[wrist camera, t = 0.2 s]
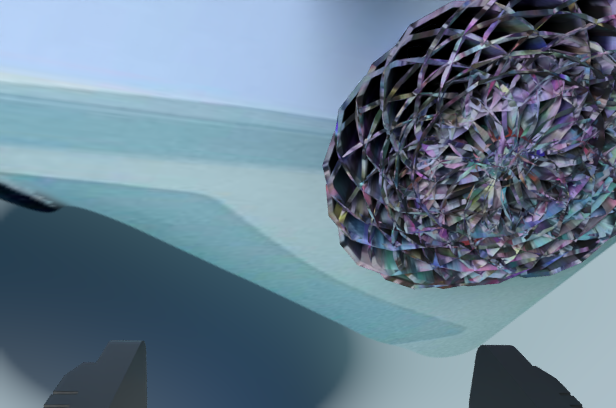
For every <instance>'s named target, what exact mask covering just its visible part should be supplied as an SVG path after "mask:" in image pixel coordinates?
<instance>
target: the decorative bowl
mask: <svg viewBox="0 0 616 408" xmlns="http://www.w3.org/2000/svg"><path fill="white" fill-rule="evenodd" d="M430 24H434V25H438V26H441V28H438V29H434V30H429V31H425V32H421V33H416V34H413V33H415V32H417V31H419V30H421V29H423V28H425V27H427V26H428V25H430ZM416 46H419V47H421V48H423V49H424V51H423V53H422V54H421V55H420V56H419V57H417V58H409V59H407V54H408V48H409V47H416ZM322 166H323V170H324V174H325V178H326V182H327V184H326V192H327V203H328V214H329V217H330V218H331V219H332V220H333V221H334V223H335V224H336V225H337V226H338V231H339V240H340V245H341V246H342V247H343V248H344V249H345V251H346V252H347V253H348V254H349V255H350V257H351V258H352V259H353V260H354V261H355V262H356V264H357V265H359V266H361V267H364V268H367V269H370V270H372V271H375V272H378V273H380V274H381V275H382V276H383V277H384V278H385V279H386V280H388V281H391V282H394V283H397V284H400V285H403V286H406V287H409V288H413V289H417V288H429V287H437V288H442V289H445V288H451V287H457V286H463V285H465V286H476V285H486V284H497V283H501V282H503V281H505V280H507V279H510V278H513V277H517V276H520V277H524V278H527V277H539V276H550V275H552V274H555V273H557V272H560V271H562V270H565V269H567V268H570V267H572V266H574V265H577V264H579V263H582V262H583V261H584V260H585V259H587V258H588V257H589V256H590V255H591V254H592V253H593V252H595V251H596V250H597V249H598V248H599V247H600V246H602V245H603V244H604V243H605V242H606V241H607V240H608V239H610V238H611V237H613V236H615V235H616V0H465V1H452V2H450V3H449V4H447V5H445V6H443V7H441V8H440V9H438V10H436V11H434V12H432V13H431V14H429V15H427V16H425V17H423V18H422V19H420V20H418V21H416V22H414V23H413V24H411V25H410V26H409V27H408V28H407V30H406V31H405V33H404V34H403V35H402V37H401V38H400V40H399V41H398V43H397V44H396V45H395V46H394V47H393V48H392V49H390V50H389V51H388V52H387V53H385V54H384V55H383V56H382V57H380V58H379V59H378V60H377V61H375V62H374V63H373V64H372V65H371V67H370V69H369V71H368V73H367V75H366V76H364V78H363V79H362V80H361V82H360V83H359V84H358V85H357V87H356V88H355V89H354V91H353V92H352V93H351V94H350V96H349V97H348V98H347V100H346V101H345V102H344V104H343V105H342V106H341V107H340V109H339V111H338V118H337V125H336V130H335V131H334V134H333V136H332V139H331V142H330V145H329V148H328V151H327V154H326V157H325V160H324V162H323V165H322Z"/></svg>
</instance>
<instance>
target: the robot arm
mask: <svg viewBox="0 0 616 408" xmlns="http://www.w3.org/2000/svg"><path fill="white" fill-rule="evenodd" d="M44 408H147V374H146V346H145V342H144V341H115V340H111V341H110V342H109V343H108V344H107V346H106V347H105V349H104V351H103V352H102V354H101V356H100V357H99V359H98V361H97V362H96V363H91V362H88V363H87V362H83V363H82V364H80V365H79V366H78V367H76V368H75V369H73V370H72V371H70V372H69V373H67V374H66V375H65V376H64V377H63V378H62V380H61V381H60V383H59V384H58V385H57V387H56V388H55V390H54V391H53V395H51V396H50V397H49V398H48V400H47V402H46V403H45V404H44ZM469 408H582V404H581V403H580V402H579V401H578V400H577V399H576V398H575V397H574V396H571V395H570V392H569V391H568V390H567V389H566V388H565V387H564V386H563V385H562V384H561V383H560V382H559V381H558V380H557V379H556V378H554V377H553V376H551V375H550V374H548V373H546V372H545V371H543V370H541V369H540V368H538V367H536V366H532V365H531V364H530V363H529V362H528V360H526V358H525V357H524V356H523V355H522V354H521V353H520V352H519V351H518V350H517V349H516V348H515V347H514V346H511V345H481V346H480V347H479V348H478V350H477V353H476V359H475V366H474V372H473V379H472V386H471V393H470V399H469Z"/></svg>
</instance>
